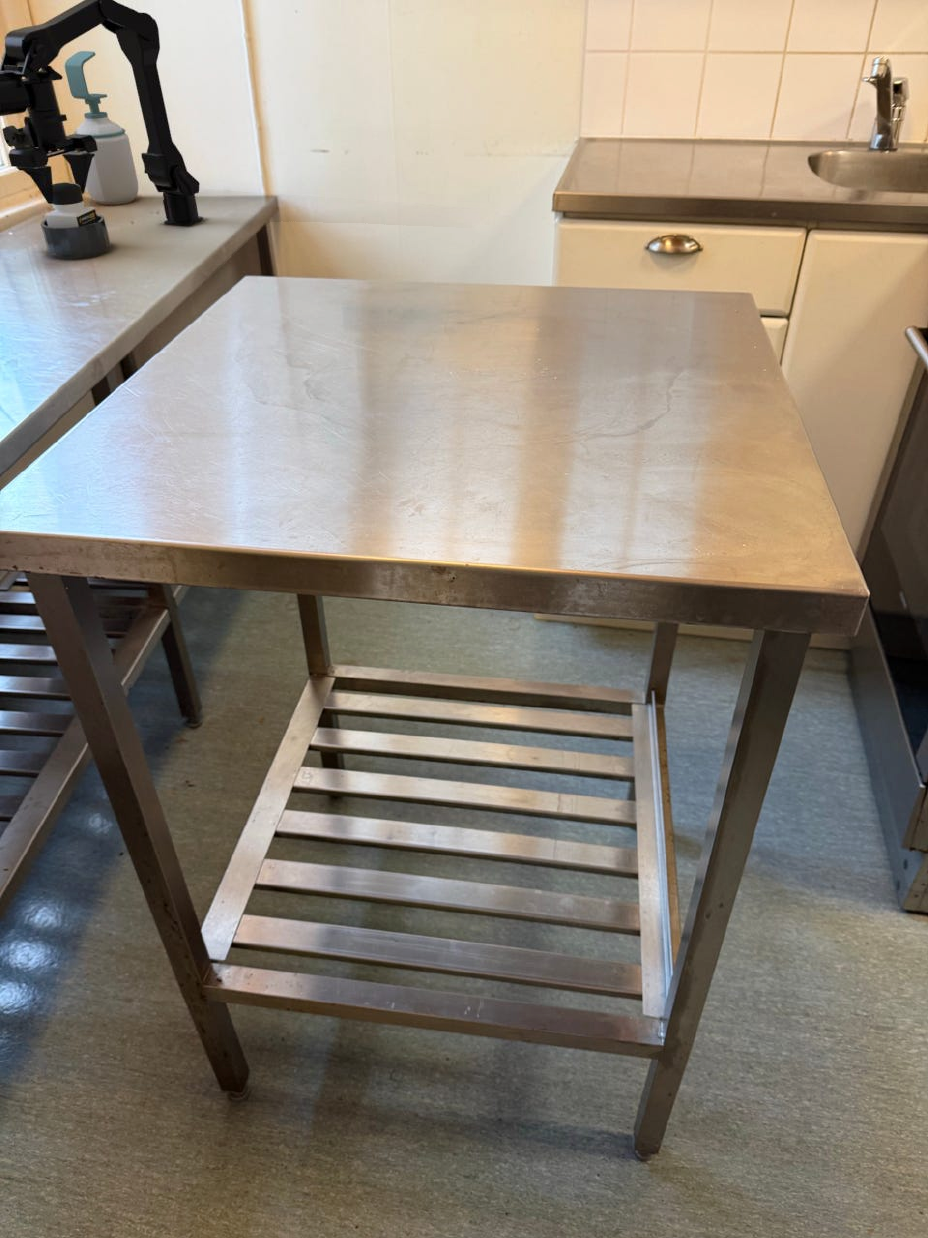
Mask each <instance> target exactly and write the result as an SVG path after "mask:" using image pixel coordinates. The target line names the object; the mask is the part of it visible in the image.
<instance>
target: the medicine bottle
mask: <svg viewBox="0 0 928 1238" xmlns="http://www.w3.org/2000/svg"><path fill="white" fill-rule="evenodd" d="M53 195H54V203H53V204H51V206H52V208H53V210H51V211H49V212H46V213H45V215H44V216H45V220H47V224H48V226H49V227H56V228H68V227H78V226H85V225H89V224H93V223H96V222H98V219H97V215H96V214H97V212H96V208H95V207H94V206H85V201H84V198H83V194H82V193H81V189H80V186H79V185H78V184H75V182H70V181H66V182H65V181H64V182H56V183H53Z"/></svg>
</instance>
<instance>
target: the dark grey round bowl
mask: <svg viewBox="0 0 928 1238" xmlns="http://www.w3.org/2000/svg"><path fill="white" fill-rule="evenodd" d="M96 215H97V219H98V222H96V223H93V224H89V225H85V226H78V227H68V228H56V227H49V226H48V224H47V220H46V219H44V220H42V221H41V222H40V227H41V231H42V234H43V238H44V241H45V245H46V249H47V252H48V254H49V256H50V257H51V258H53V259H56V260H64V261H66V260H67V261H74V260H84V259H85V260H87V259H91V258H96V257H100V256H103V255H105V254H108V253H109V252H111V250H112V245H111V239H110V235H109V231H108V230H109V229H108V227H107V222H106V219H105V216H104V215H102V214H99V213H96Z"/></svg>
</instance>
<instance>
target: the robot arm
mask: <svg viewBox="0 0 928 1238" xmlns="http://www.w3.org/2000/svg"><path fill="white" fill-rule="evenodd" d="M100 25H101V26H102V27H103V28H104V29H105V30H107V31H108V32H110V33H112V34H114V35H115V36H116V39H117V42H118V45H119V47H120V50H121V51H122V53H123V55H124V56H125V58H126V60H127V61H128V62H129V64H130V65H131V68H132V74H133V76H134V83H135V87H136V91H137V96H138V100H139V105H140V108H141V113H142V118H143V122H144V125H145V126H144V127H145V132H146V136H147V140H148V146H147V149H146V152H141V160H142V162H143V166H144V172H143V173H144V174H146V175H147V177H148V179H149V181H150V182H151V183H152V184H153V185H154V187H155V189H156V191H157V193H162V196H163V199H162V204H163V208H164V213H165V218H166V220H164V221H163V223H164V225H174V226H186V227H188V226H191V225H194V224H196V223H197V222H200V221H203V220H204V216H200V215H199V211H198V205H197V199H196V194H199V193H200V186H201V185H200V184H201V183H200V181H198V180H197V178H195V177H194V176H193V175H192V174H191V173H190V172H189V171H188V169H187V166H186V163H185V159H184V156H183V155H182V153H181V152H180V150H179V149H178V147H177V146H176V144H175V143H174V141H173V137H172V132H171V128H170V123H169V118H168V114H167V108H166V104H165V99H164V93H163V89H162V85H161V79H160V75H159V69H158V64H157V62H158V59H159V54H160V50H161V43H160V41H161V40H160V31H159V26H158V23H157V21H156V19H154V18H153V17H152V16H151V14H149V13H147V12H139V11H137V10H136V9H133V8H131V7H128V6H126V5H124V4H122V3H119V2H117V1H115V0H82V1H80V2H79V3H77V4H75V5H73V6H72V7H70V8H68V9H66V10H64V11H62V12H61V13H60V14H58V15H56V16H54V17H52V18H50V19H48V20H47V21H45V22H43V23H40V24H35V25H30V26H25V27H21V28H17V29H13V30H10V31H8V33H6V35H5V36H4V52H3V55H2V59H1V62H0V117H5V116H11V115H18V114H23V113H25V112H27V116H24V118H23V122H24V126H23V127H20V128H17V127H16V126H15V125H8V126H5V127H4V128H2V129H1V131H2V135H3V139H4V141H5V142H6V145H7V147H11V148H12V147H14V148H12V149H10V150H9V153H8V154H7V156H8V159H9V163H10V166H11V167H16V169H17V170H18V171H23V173H25V174H27V175H28V176H29V177H30V178H31V180H32V181H33V182H34V184H35V185H36V187H37V188H38V190H39V192H40V194H41V195H42V196H43V198H44V199H45V202H47V204H48V205H52V204H53V203H54V195H53V184H54V182H53V173H52V171H53V170H52V166H51V165H48V162H49V159H50V158H53V157H57V156H61V155H62V157H63V158H64V159H65V161H66V162H67V163H68V164H69V166H70V170H71V174H72V176H73V177H72V178H73V180H74V183H75V184H78V185H79V186H80V189H81V193H82V195H84V194H85V191H86V182H87V177H88V172H89V169H90V165H91V161H92V158H93V157H94V156H95V154H94V153H91V152H95V151H98V148H97V144H96V140H95V139H94V138H93V137H92V136H91V135H79V134H74V133H71V134H68V135H67V133H66V130H65V125H64V122H67V121H68V118H67V114H66V113H65V114H64V113H61V110H60V106H59V101H58V96H57V94H56V90H55V85H54V81H62V80H63V75H62V74H61V73H59V72H57V71H56V70H55V69H54V68H53V67H52V66H51V65H50V64H52V62H54V61H55V59H57V57H58V56H59V54H60V51H61V50H62V48H64V47H65V46H66V45H67V44H70V43H71V42H73V41H74V40H76V39H78V38H80V37H81V36H83V35H85V34H86V33H89V32H90V31H91V30H93V29H95V28H96V27H99V26H100Z"/></svg>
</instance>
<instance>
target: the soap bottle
mask: <svg viewBox="0 0 928 1238" xmlns="http://www.w3.org/2000/svg"><path fill="white" fill-rule="evenodd" d="M95 56H96V52H95V51H89V50H88V51H87V50H80V51H77V52H76V53H74V54H73V55H72V56H70V57H69V58H67V59H66V60H65V63H64V70H65V74H66V78H67V83H68V88H69V91H70V94H71V96H72V97H73V98H74V99H78V100H84V104H85V105H87V106H88V107H89V112H85V113H84V114H83V116H84V121H83V122H82V124H80V125H79V126H78V127H77V129H76V131H74V132H73V134H79V135H91V136H92V137H93V138H94V139H95V140H96V144H97V148H98V151H95V152H91V153H94V154H95V156H94V157H93V158H92V161H91V165H90V169H89V172H88V177H87V182H86V187H85V191H87V194H88V195H89V197H90V199H91V200H93V201H94V202H95V203H97V204H99V205H103V206H116V205H124V204H128V203H131V202H133V201H134V200H135V198H136V197H137V196H138V193H139V180H138V175H137V170H136V166H135V162H134V157H133V152H132V147H131V142H130V138H129V135H128V134H127V133H126V129H125V128H124V127H121V126H120V125H119V124H118V123H116V122H114V121H112V120H111V119H110V118H109V116H108V112H106V111H100V106H99V105H100V104H102V101H101V99H105V98H108V95H107V93H90V92H89V90H88V85H87V82H86V81H87V80H86V77H85V73H84V66H85V63H87V62H89V60H91V59H93V57H95Z"/></svg>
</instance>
